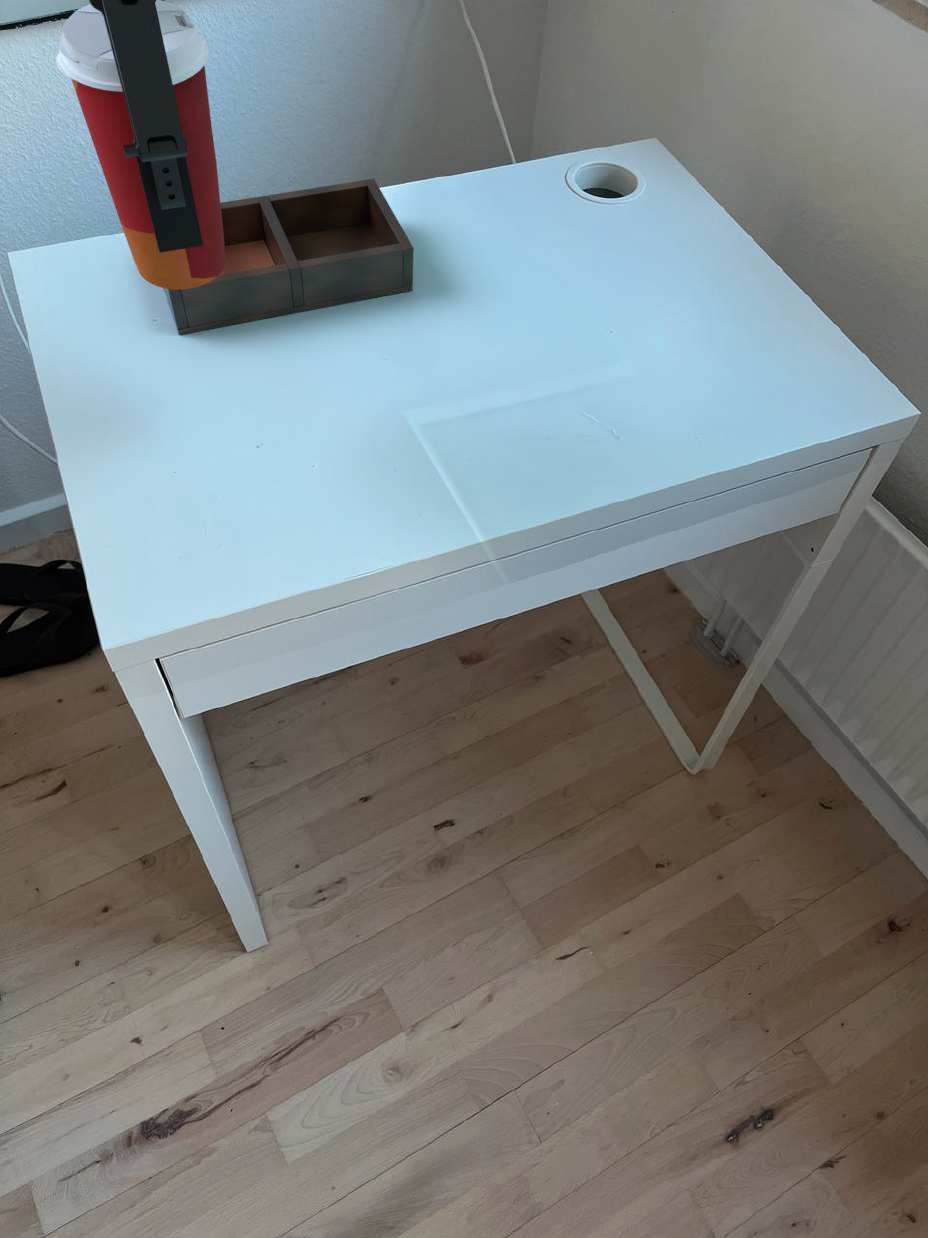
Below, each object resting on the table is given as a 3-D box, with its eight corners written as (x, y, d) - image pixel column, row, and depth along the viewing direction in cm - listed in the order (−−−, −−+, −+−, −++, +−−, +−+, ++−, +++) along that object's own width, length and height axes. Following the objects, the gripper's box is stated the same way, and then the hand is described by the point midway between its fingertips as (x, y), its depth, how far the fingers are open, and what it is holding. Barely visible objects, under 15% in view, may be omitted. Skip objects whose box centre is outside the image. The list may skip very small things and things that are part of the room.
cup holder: (178, 335, 83) (168, 291, 79) (153, 258, 89) (143, 214, 85) (412, 290, 89) (413, 247, 85) (374, 221, 94) (374, 177, 91)
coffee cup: (223, 216, 67) (182, -17, 55) (258, 284, 63) (222, 50, 51) (105, 240, 65) (35, 3, 53) (133, 312, 61) (64, 74, 49)
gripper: (192, -184, 38) (262, 294, 56) (110, -330, 48) (193, 113, 67) (-6, -172, 36) (135, 317, 55) (-45, -327, 46) (84, 127, 65)
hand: (167, 204), depth 61 cm, fingers closed on coffee cup, 8 cm apart
